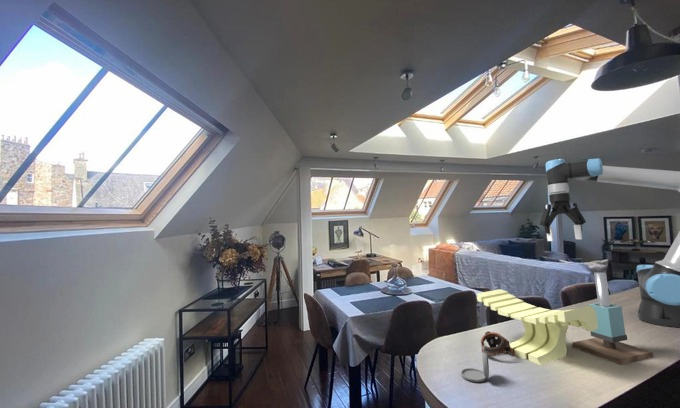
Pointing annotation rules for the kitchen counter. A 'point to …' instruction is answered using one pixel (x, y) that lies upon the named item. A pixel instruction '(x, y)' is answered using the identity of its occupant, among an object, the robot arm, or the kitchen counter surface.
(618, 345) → the pipe stand
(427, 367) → the kitchen counter surface
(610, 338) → the dark grey square slab
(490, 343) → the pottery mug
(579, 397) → the kitchen counter surface
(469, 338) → the kitchen counter surface
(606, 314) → the sleeve
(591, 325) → the slatted curved stool
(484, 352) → the grey round-based holder
